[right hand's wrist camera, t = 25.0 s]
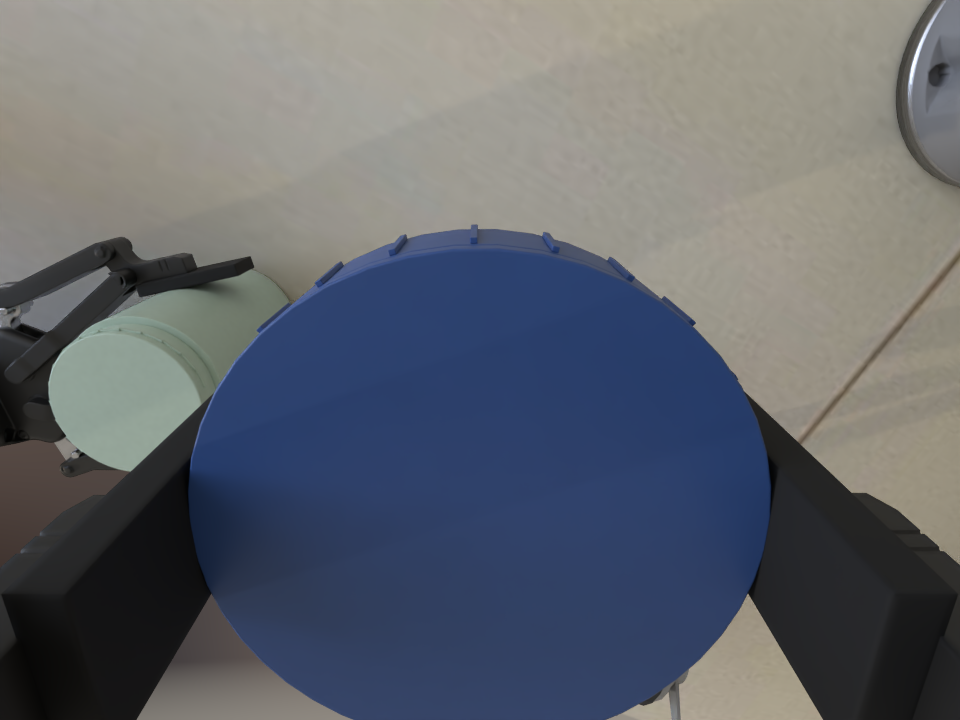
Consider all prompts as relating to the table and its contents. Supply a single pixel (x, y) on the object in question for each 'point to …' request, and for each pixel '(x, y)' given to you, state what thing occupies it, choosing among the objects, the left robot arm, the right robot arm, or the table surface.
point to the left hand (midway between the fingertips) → (268, 335)
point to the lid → (479, 485)
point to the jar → (155, 365)
